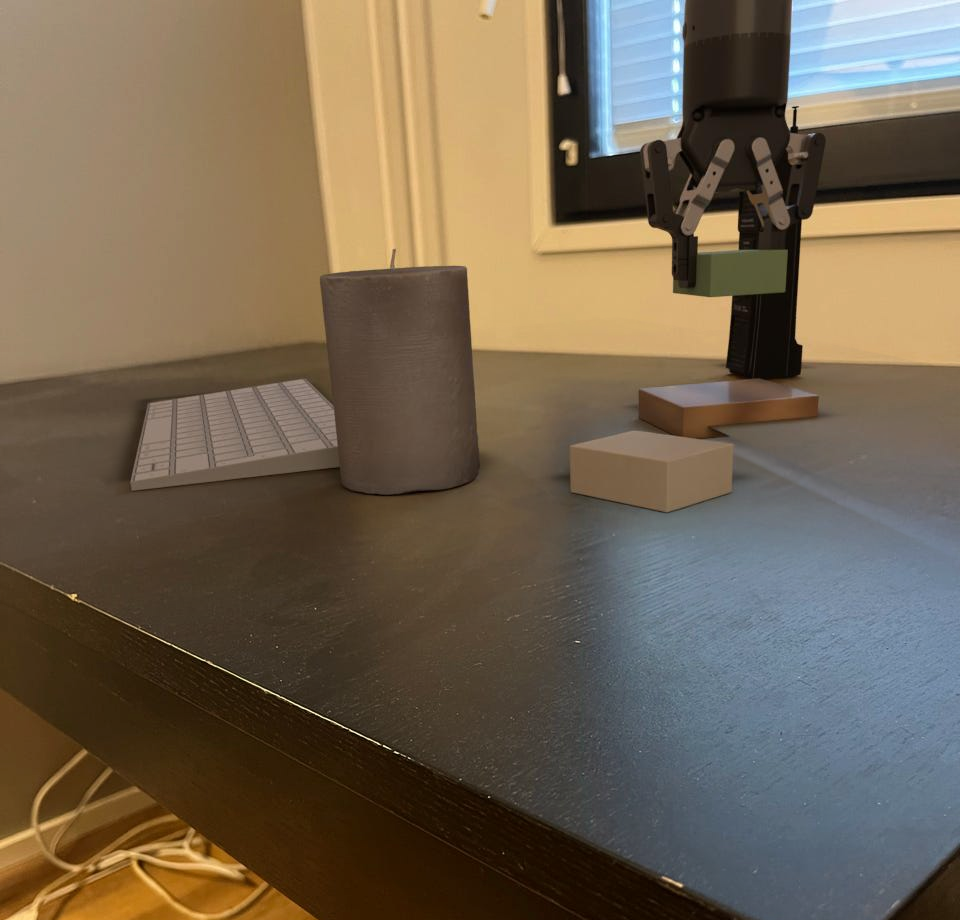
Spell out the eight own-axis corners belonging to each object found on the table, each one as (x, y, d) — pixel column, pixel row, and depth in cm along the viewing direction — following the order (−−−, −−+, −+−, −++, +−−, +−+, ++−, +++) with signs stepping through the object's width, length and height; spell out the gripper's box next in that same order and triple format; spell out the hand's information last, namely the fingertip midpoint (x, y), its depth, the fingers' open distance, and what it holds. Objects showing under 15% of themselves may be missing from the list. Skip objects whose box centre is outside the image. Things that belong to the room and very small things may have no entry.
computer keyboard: (149, 408, 109) (146, 392, 108) (317, 392, 113) (315, 377, 112) (114, 492, 70) (110, 469, 70) (372, 464, 74) (370, 442, 74)
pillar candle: (401, 459, 75) (383, 248, 69) (507, 470, 70) (496, 242, 64) (311, 488, 68) (282, 255, 62) (421, 502, 62) (400, 248, 57)
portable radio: (720, 372, 109) (728, 118, 99) (773, 368, 109) (786, 114, 100) (745, 381, 101) (757, 108, 92) (802, 377, 102) (819, 104, 92)
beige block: (634, 474, 66) (634, 430, 65) (732, 492, 60) (733, 443, 59) (570, 492, 63) (568, 445, 61) (667, 513, 57) (667, 461, 56)
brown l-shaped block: (757, 407, 87) (759, 378, 86) (817, 427, 77) (819, 395, 76) (638, 417, 86) (638, 388, 85) (682, 440, 76) (683, 407, 75)
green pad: (741, 288, 81) (743, 249, 80) (785, 292, 74) (788, 249, 73) (672, 293, 81) (673, 253, 79) (709, 297, 73) (711, 254, 72)
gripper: (658, 30, 66) (655, 293, 73) (856, 24, 68) (837, 280, 75) (624, 51, 73) (624, 289, 80) (805, 44, 75) (791, 278, 82)
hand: (727, 284), depth 77 cm, fingers closed on green pad, 6 cm apart
